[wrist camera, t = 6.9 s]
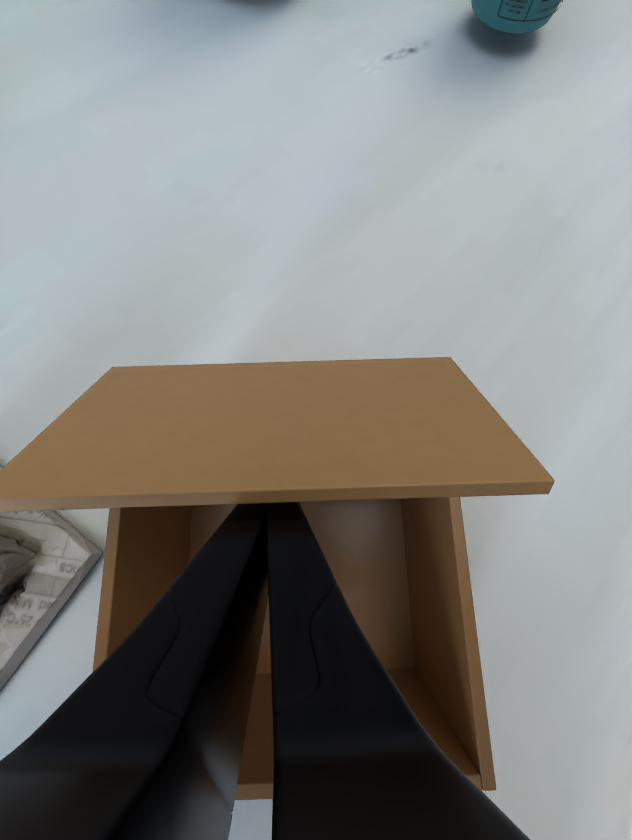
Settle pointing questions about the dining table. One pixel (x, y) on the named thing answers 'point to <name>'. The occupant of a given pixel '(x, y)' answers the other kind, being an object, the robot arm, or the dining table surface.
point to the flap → (272, 438)
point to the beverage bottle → (515, 14)
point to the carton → (366, 597)
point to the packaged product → (36, 578)
